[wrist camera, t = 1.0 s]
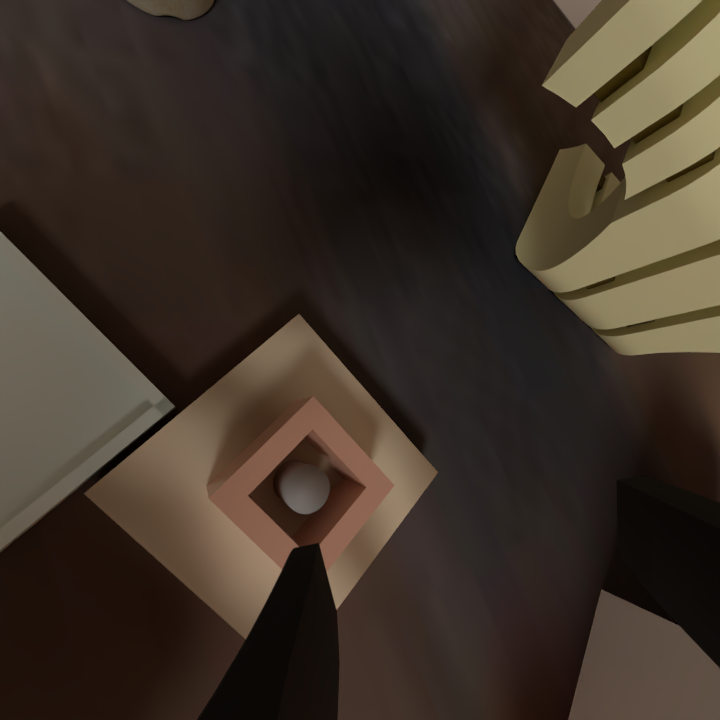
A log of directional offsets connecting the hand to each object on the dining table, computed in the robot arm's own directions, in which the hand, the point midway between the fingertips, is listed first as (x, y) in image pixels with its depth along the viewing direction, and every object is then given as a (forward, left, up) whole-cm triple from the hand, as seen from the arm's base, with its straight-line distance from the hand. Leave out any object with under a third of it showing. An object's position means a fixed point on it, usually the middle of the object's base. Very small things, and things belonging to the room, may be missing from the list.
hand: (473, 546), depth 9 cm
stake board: (-1, +1, -13) cm, 13 cm away
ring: (-1, +1, -11) cm, 11 cm away
